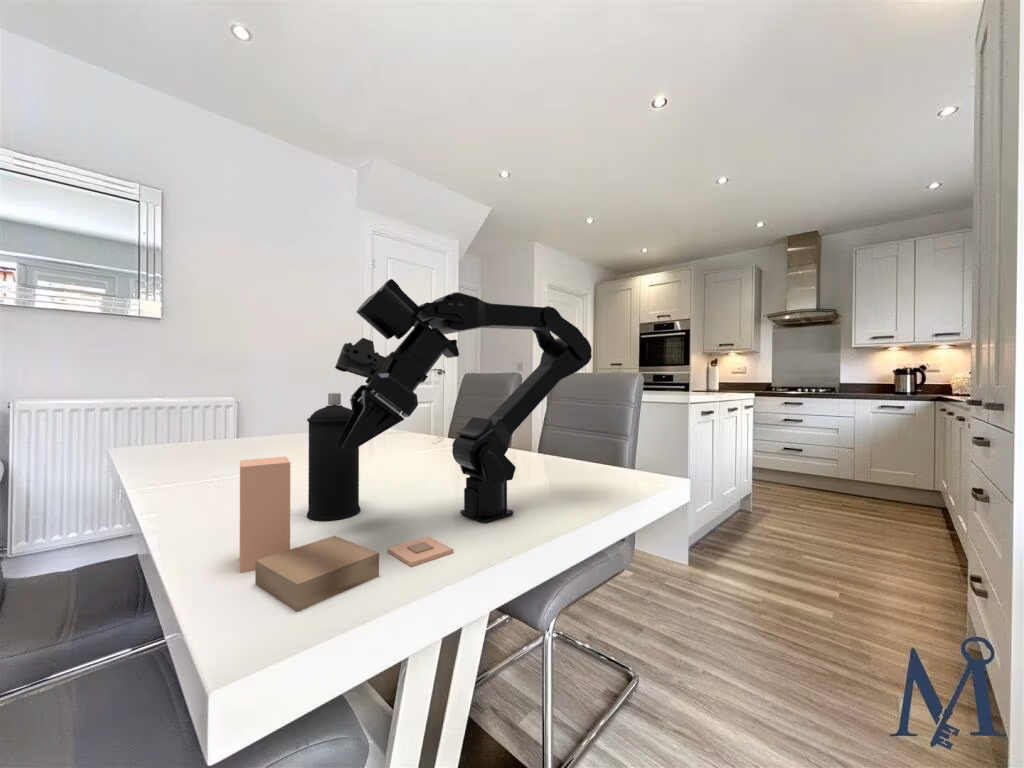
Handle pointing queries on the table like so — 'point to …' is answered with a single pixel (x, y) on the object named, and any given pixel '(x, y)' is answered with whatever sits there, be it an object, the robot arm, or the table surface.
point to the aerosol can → (331, 465)
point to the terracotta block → (264, 509)
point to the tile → (419, 551)
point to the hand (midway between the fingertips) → (341, 449)
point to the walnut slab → (316, 571)
